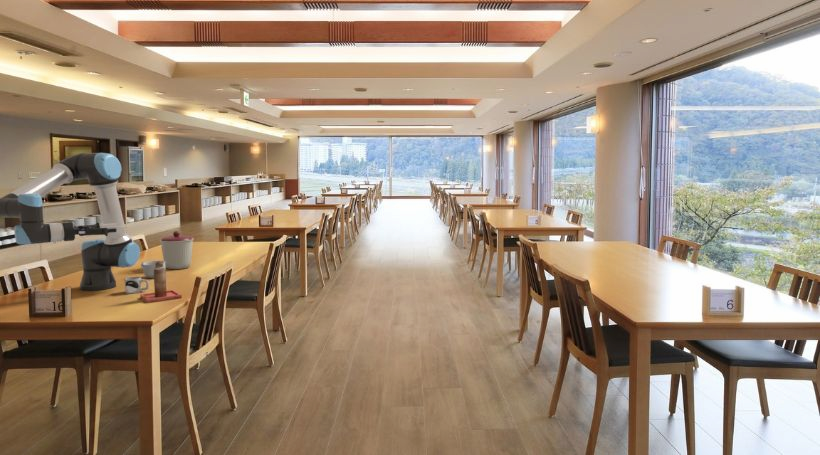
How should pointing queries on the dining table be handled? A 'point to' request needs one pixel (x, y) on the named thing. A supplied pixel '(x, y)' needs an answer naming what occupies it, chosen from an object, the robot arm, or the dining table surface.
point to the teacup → (150, 268)
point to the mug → (135, 285)
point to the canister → (177, 250)
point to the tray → (151, 297)
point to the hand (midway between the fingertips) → (120, 227)
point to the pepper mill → (160, 280)
